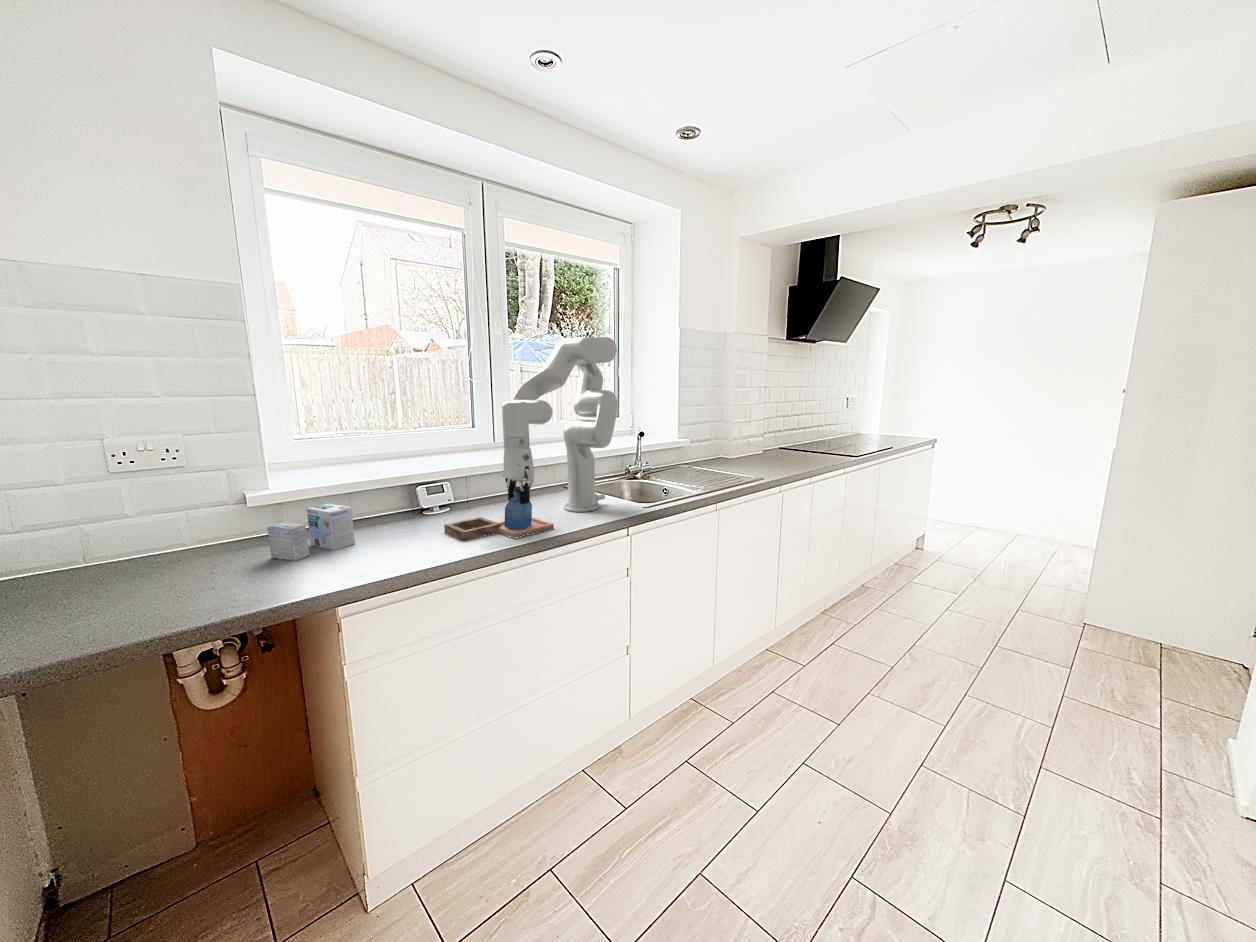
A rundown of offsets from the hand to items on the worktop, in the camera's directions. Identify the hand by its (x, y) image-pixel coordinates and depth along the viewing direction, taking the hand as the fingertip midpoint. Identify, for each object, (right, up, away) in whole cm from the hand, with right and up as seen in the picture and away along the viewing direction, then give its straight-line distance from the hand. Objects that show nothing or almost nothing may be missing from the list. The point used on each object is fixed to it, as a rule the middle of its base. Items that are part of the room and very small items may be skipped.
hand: (518, 501), depth 153 cm
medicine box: (-55, -14, -22) cm, 60 cm away
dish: (0, -9, +2) cm, 9 cm away
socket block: (-14, -9, -1) cm, 17 cm away
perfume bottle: (-1, -8, +2) cm, 8 cm away
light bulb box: (-50, -12, -11) cm, 52 cm away
